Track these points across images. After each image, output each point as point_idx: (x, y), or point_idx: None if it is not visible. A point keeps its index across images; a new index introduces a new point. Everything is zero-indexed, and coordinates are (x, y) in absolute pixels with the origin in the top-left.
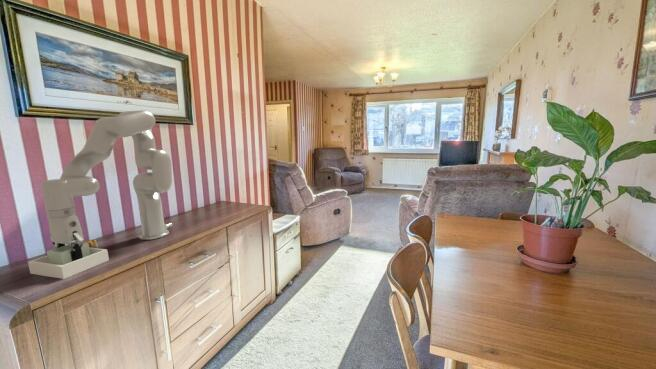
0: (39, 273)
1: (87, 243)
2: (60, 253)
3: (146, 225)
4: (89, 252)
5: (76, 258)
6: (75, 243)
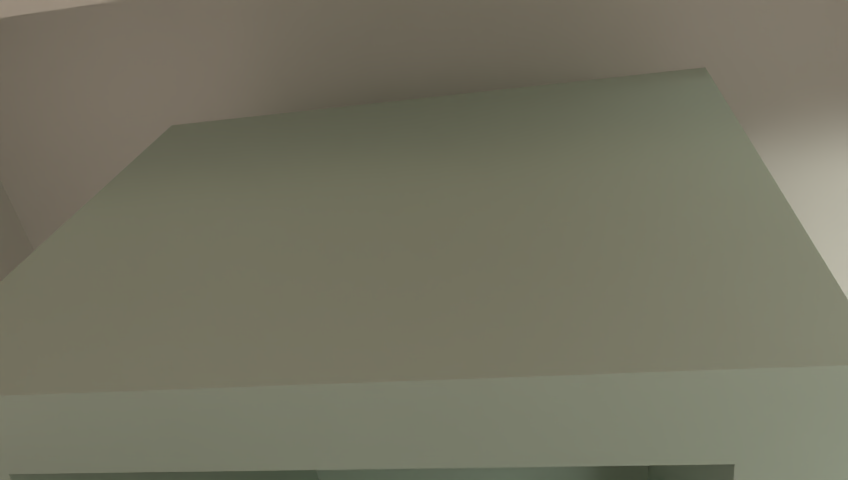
0: None
1: (809, 376)
2: None
3: None
4: (736, 144)
5: None
6: (61, 453)
